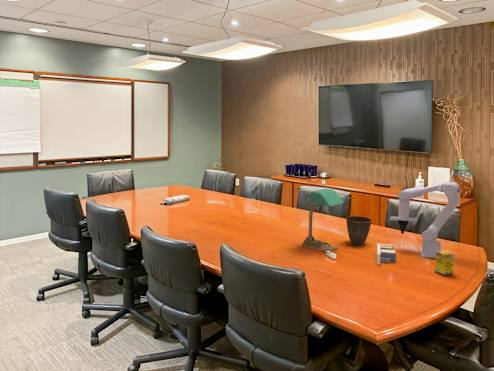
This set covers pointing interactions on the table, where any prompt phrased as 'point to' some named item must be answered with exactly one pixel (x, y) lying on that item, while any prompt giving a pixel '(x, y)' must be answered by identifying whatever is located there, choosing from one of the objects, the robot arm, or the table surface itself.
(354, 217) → the plant pot
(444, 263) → the supplement box
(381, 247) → the book rack
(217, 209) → the table surface
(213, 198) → the table surface
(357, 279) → the table surface
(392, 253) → the boxed book
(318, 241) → the banker's lamp
